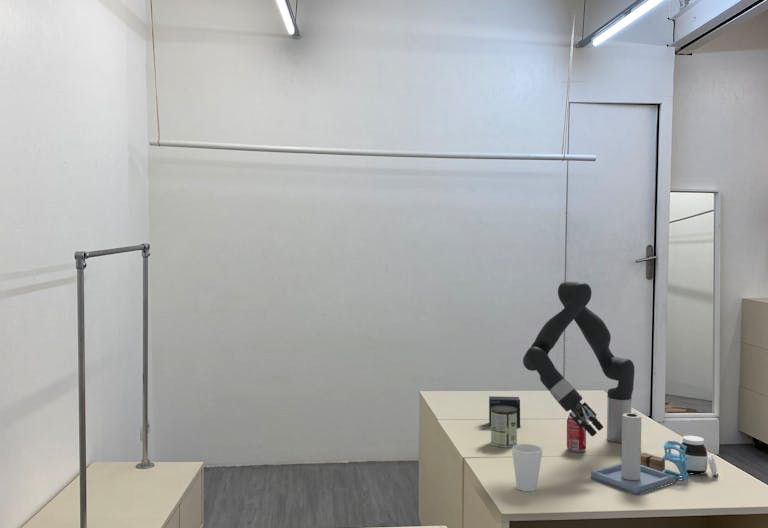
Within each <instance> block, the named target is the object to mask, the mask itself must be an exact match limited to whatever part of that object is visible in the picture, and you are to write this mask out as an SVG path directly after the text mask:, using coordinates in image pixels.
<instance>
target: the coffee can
mask: <svg viewBox="0 0 768 528" xmlns="http://www.w3.org/2000/svg"><path fill="white" fill-rule="evenodd" d="M517 430H518V427H517V408H515V407H512V406H504V405H500V406H493V407H491V427H490V444H491V443H492V444H494V445H497V446H502V447H501V448H513V447H512V446H515V445H518V443H517V441H518V439H517V437H518V436H517V435H518V434H517V433H518V431H517ZM492 444H491V445H492ZM494 445H493V446H494ZM497 446H496V447H497Z"/></svg>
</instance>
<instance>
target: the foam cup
mask: <svg viewBox="0 0 768 528" xmlns="http://www.w3.org/2000/svg"><path fill="white" fill-rule="evenodd" d="M511 448H512V449H511V451H512V453H511V454H512V458H513V459H512V460H513V467H514V475H515V477H514V478H515V483H516V485H515V486H516V489H517V488H518V489H517V490H519V489H520V490H519V491H521V490H523V491H522V492H526V491H531V492H535V491H537V488H538V482H539V475H540V469H541V463H542V461H541V460H542V457H543V449H542V448H541V447H540V446H538V445H535V444H525V443H524V444H522V443H521V444H517V445H515V446H513V447H511Z"/></svg>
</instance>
